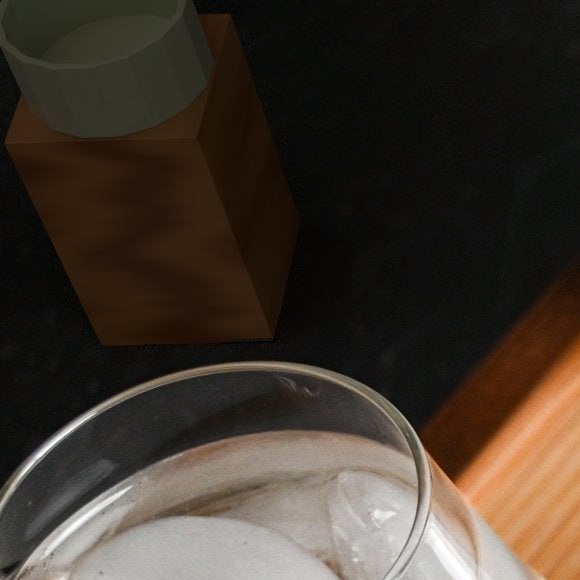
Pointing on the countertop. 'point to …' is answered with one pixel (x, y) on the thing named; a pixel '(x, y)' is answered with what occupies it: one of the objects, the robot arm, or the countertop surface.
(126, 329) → the riser
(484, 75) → the countertop surface
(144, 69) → the bowl
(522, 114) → the countertop surface
